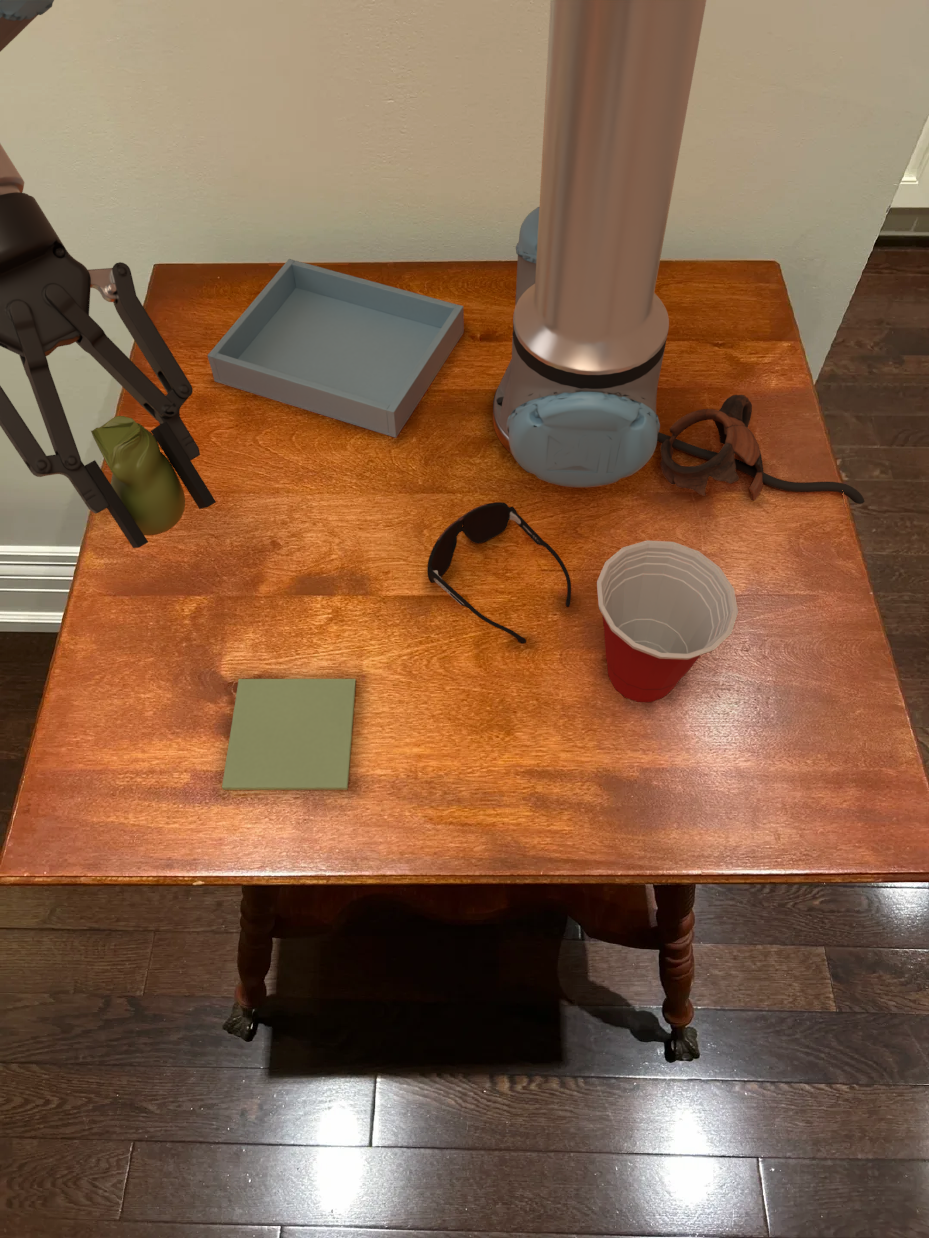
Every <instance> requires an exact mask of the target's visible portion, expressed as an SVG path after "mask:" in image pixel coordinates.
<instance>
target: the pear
mask: <svg viewBox="0 0 929 1238" xmlns="http://www.w3.org/2000/svg"><path fill="white" fill-rule="evenodd" d="M90 432H91V435H92V437H93V440H94V441H95V444H96V446H97V447H98V449H99V452H100V453H101V455H102V457H103V459H104V461H105V463H106V465H107V467H108V468H109V470H110V472H111V473H112V475H111V480H110V484H111V485H112V487H113V489H114V490H115V492H116V493H117V495H118V496H119V498H120V499H121V501H122V502H123V504H124V505H125V507H126V508H127V510H128V512H129V513H130V515H131V516H132V518H133V519H134V521H135V522H136V524H137V525H138V527H139V528H140V530H141V531H142V533H143V535H144V536H145V537H148V536H149V537H150V536H157V535H160V534H164V533H166V532H167V531H169V530H171V529H172V528H173V527H175V526H176V525H177V524H178V523H179V521H180V520H181V518H182V516H183V514H184V513H185V512H184V511H185V508H186V495H185V491H184V488H183V486H182V483H181V481H180V477H179V476H178V474H177V472H176V471H175V469H174V468H173V466H172V465H171V463H170V461H169V460H168V458H167V457H166V455H165V453H164V452H163V451H161V447H160V445H159V444H158V442H157V440H156V439H155V437H154V436H153V434H152V433H151V431H150V430H148V429H147V428H146V427H144V426H143V425H142V424H141V423H139V422H137V421H135V419H133V417H129V416H125V415H117V416H114V417H112V418H110V419H109V420H108V421H107V422H105V423H103V424H102V425H101V426H98V427H95V428H94V429H93V430H90Z"/></svg>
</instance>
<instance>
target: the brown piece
mask: <svg viewBox="0 0 929 1238" xmlns="http://www.w3.org/2000/svg"><path fill="white" fill-rule="evenodd" d="M752 412H753V404H752V402H751V400H750V398H748V397H747V396H746V395H744V394H733V395H731V396H728V397H727V398H726V399H725V400H724V401H723V403H722V404H721V407H720V408H719V409H713V408H703V409H698V410H694V411H691V412H689V413H686V414H685V415H684V416H681V417H680V418H678V419H677V420H676V421H675V422H674V423H673V424H672V425H671V426H670V427H669V432H670V434H671V438H670V439H666V440H665V441H664V442H663V443H660V449H659V450H660V456H661V460H660V470H661V472H662V475H663V476H664V478H665V479H666V481H667V482H668V483H669V484H670V485H672V486H675V487H677V488H679V489H686V490H690V491H691V490H692V491H694V492H695V493H697V494H699V495H701V496H703V497H705V496H706V490H707V489H706V488H707V486H708V482H709V478H710V477H711V478H712V479H713V480H714V481H717V482H724V483H727V484H734V483H735V482H737V481H739V480H740V476H739V474H738V472H737V469H736V464H735V455H737V456H738V457H739V458H741V459H742V461H743V462H745V463H746V464H748V465H750V466H753V467H755V468H756V470H757V474H756V476H755V478H753V480H752V482H751V484H750V485H749V487H748V491H749V493H750V500H751V501H756V500H757V499H758V497H759V496H760V494H761V491H762V488H763V485H764V483H763V472H764V466H763V465H764V464H763V458H762V457H763V456H762V453H761V452H762V451H761V449H760V445H759V442H758V441H757V438H756V437H755V435H754V432H752V430H751V429H750V428H749V425H750V422H751V420H752V418H751V417H752V414H753V413H752ZM704 421H713V422H714V425H715V427H716V429H717V432H718V436H719V443H720V444H721V445H723V446H722V447H721V449H720V450H719V451H718V452H717V453H718V454H717V455H715V456H714V457H713V458H712V459H710V460H707V461H705V462H703V463H701V464H696V465H680V464H679V463H677V462H675V460H674V459H673V455H674V452H675V451H674V449H675V448H673V447H672V444H673V442H674V440H675V439H678V437H679V435H681V433H683V432H684V431H686V430H687V429H688V428H690V427H691V426H693V425H696V424H698V423H700V422H704Z"/></svg>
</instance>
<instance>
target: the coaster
mask: <svg viewBox="0 0 929 1238" xmlns="http://www.w3.org/2000/svg"><path fill="white" fill-rule="evenodd" d="M236 687H237V688H236V694H235V700H234V707H233V713H232V720H231V724H230V733H229V739H228V745H227V752H226V759H225V763H224V764H225V765H224V772H223V777H222V784H221V785H222V786H221V788H222V790H223V791H329V790H330V791H340V790H341V791H348V790H349V782H350V767H351V757H352V756H351V753H352V743H353V742H352V741H353V729H354V716H355V702H356V688H357V679H356V678H238V680H237V686H236Z"/></svg>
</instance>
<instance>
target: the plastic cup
mask: <svg viewBox="0 0 929 1238" xmlns="http://www.w3.org/2000/svg"><path fill="white" fill-rule="evenodd" d="M596 590H597V600H598V610H599V611H600V613H601V616H602V623H603V636H604V650H605V651H604V652H605V661H606V666H607V675H608V678H609V680H610V682H611V684H612V686H613V688H614V690H615V691H616V692H618V693H619V694H620V695H622V696H623V697H624V698H626V699H629V700H632V701H634V702H637V703H653V702H655V701H658V700H660V699H664V697H666V696H667V695H668V694H669V693H670V692H671V691H672V690H673V689H674V688H676V686H677V685H678V683H679V682H680V680H681V679H683V677H684V676H685V675H686V674H688V672H689V671H690V670H691V668H692V667H693V666H694V665H695V664H696V662H697V661H698V660H699V658H700V657H701V656H703V655H705V654H708V653H711V652H713V651H715V650H716V649H717V648H718V647H719V646H721V644H722V643H723V642H724V641H726V639H727V638H728V637H729V636H730V635H732V634H733V630H734V627H735V623H736V620H737V618H738V617H737V616H738V614H739V609H738V603H737V598H736V592H735V588H734V586H733V584H732V583H731V581H730V580H729V578H728V577H727V576H726V574H725V572H724V571H723V570H722V568H721V567H720V566H719V565H718V564H716V563H715V562H714V561H713V560H711V559H710V558H709V557H707V556H705V554H703V553H702V552H701V551H699V550H697V549H694V548H691V547H689V546H687V545H684V544H681V543H678V542H675V541H670V540H669V541H668V540H667V541H666V540H643V541H640V542H636V543H633V544H630V545H625V546H623V547H621V548H620V549H619V550H618V551H617V552H615V553H614V554H613V555H612V556H611V557H609V558H608V559H607V560H606V561H605V562H604V564H603V567H602V569H601V571H600V573H599V576H598V578H597V581H596Z"/></svg>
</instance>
